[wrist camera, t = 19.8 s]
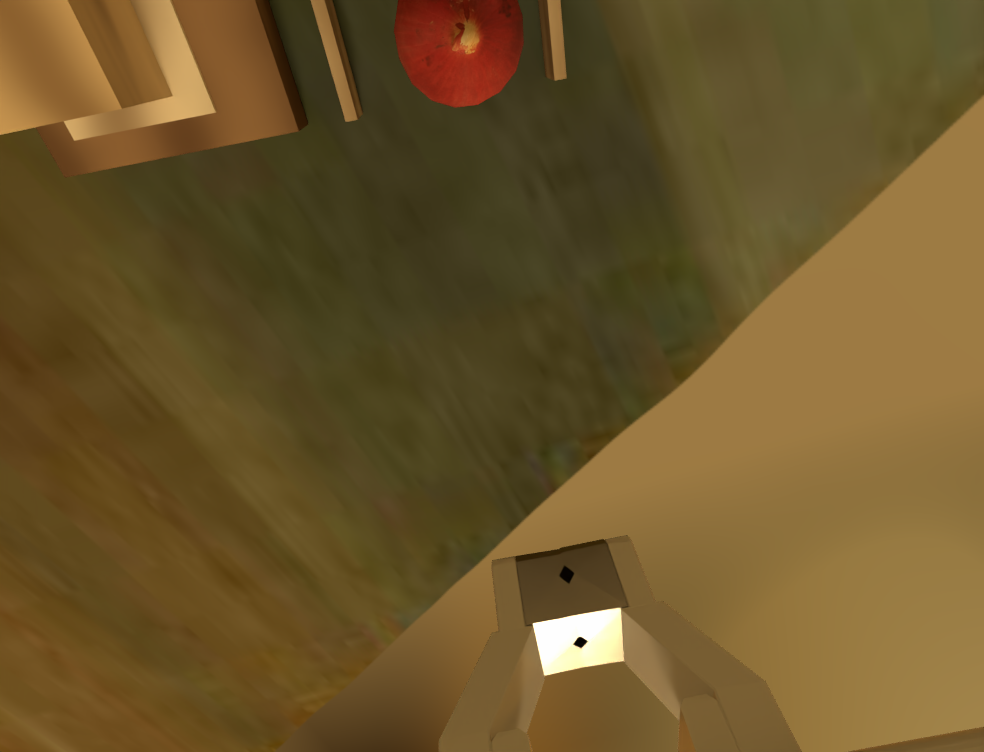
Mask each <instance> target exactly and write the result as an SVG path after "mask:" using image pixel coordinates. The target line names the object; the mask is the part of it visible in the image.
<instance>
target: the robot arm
mask: <svg viewBox="0 0 984 752" xmlns="http://www.w3.org/2000/svg"><path fill="white" fill-rule="evenodd" d="M515 558H516V559H515ZM492 576H493V585H494V594H495V602H496V611H497V620H498V629H499V631H498V632H494V633H492V634H491V636H490V638H489V640H488V642H487V644H486V646H485V648H484V650H483V652H482V654H481V656H480V658H479V660H478V662H477V665H476V666H475V668H474V671H473V673H472V674H471V677H470V679H469V681H468V683H467V685H466V687H465V689H464V691H463V693H462V695H461V697H460V699H459V701H458V703H457V705H456V707H455V709H454V711H453V713H452V716H451V717H450V720H449V721H448V724H447V725H446V728H445V730H444V732H443V734H442V736H441V738H440V740H439V752H533V751H532V747H531V744H530V740H529V736H528V734H527V730H528V727H529V724H530V721H531V718H532V715H533V712H534V709H535V706H536V703H537V700H538V697H539V694H540V691H541V688H542V685H543V682H544V679H545V677H544V675H548V674H552V673H557V672H562V671H567V670H572V669H576V668H581V667H586V666H593V665H599V664H605V663H612V662H618V661H625V664H626V665H627V666H628V667H629V668H630V669H631V670H632V671H633V672H634V673H635V674H636V675H637V676H638V677H639V679H640V680H641V681H642V682H643V683H644V684H645V685H646V686H647V687H648V688H649V689H650V690H651V691H652V692H653V693H654V694H655V695H656V697H657V698H658V699H659V700H660V701H661V702H662V703H663V704H664V705H665V706H666V707H667V708H668V709H669V710H670V711H671V713H672V714H673V715H674V716H675V717H676V718H677V719H678V720H679V737H678V738H679V739H678V752H802V751H801V749H800V747H799V745H798V744H797V742H796V740H795V738H794V736H793V734H792V732H791V730H790V728H789V726H788V724H787V723H786V720H785V718H784V717H783V715H782V712H781V711H780V709H779V707H778V705H777V703H776V701H775V699H774V697H773V695H772V693H771V691H770V689H769V687H768V685H767V683H766V682H765V681H764V680H763V679H762V678H761V677H759V676H758V675H756V674H755V673H754V672H753V671H752V670H750V669H749V668H748V667H747V666H745V665H744V664H743V663H741V662H740V661H739V660H738V659H736V658H735V657H734V656H733V655H731V654H730V653H729V652H727V651H726V650H725V649H724V648H722V647H721V646H720V645H718V644H717V643H716V642H715V641H713V640H712V639H711V638H710V637H708V636H707V635H706V634H704V633H703V632H702V631H701V630H699V629H698V628H697V627H695V626H694V625H693V624H692V623H691V622H689V621H688V620H687V619H685V618H684V617H683V616H682V615H680V614H679V613H678V612H677V611H675V610H674V609H673V608H671V607H670V606H669V605H668V604H666V603H665V602H664V601H660V602H656V601H655V598H654V596H653V593H652V591H651V588H650V586H649V583H648V581H647V578H646V576H645V573H644V571H643V568H642V565H641V563H640V561H639V558H638V555H637V553H636V550H635V548H634V545H633V543H632V540H631V539H630V537H628V536H627V535H626V536H620V537H615V538H610V539H605V540H604V539H602V540H597V541H592V542H587V543H582V544H577V545H572V546H568V547H562V548H560V549H557V550H551V551H545V552H538V553H533V554H526V555H520V556H513V557H508V558H503V559H497V560H492ZM848 752H984V727H980V728H974V729H969V730H963V731H958V732H953V733H947V734H942V735H936V736H931V737H925V738H919V739H914V740H909V741H903V742H898V743H892V744H887V745H881V746H876V747H870V748H865V749H859V750H854V751H848Z"/></svg>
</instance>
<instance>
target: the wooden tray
mask: <svg viewBox="0 0 984 752" xmlns="http://www.w3.org/2000/svg"><path fill="white" fill-rule="evenodd" d="M130 2H131V4H132V6H133V8H134V11H135V13H136V15H137V17H138V20H139V22H140V24H141V26H142V28H143V31H144V33H145V35H146V37H147V40H148V42H149V44H150V46H151V48H152V51H153V53H154V55H155V57H156V60H157V62H158V64H159V66H160V68H161V71H162V73H163V75H164V77H165V80H166V82H167V84H168V86H169V88H170V91H171V93H172V95H173V96H172V97H168V98H164V99H160V100H156V101H152V102H148V103H144V104H140V105H136V106H131V107H127V108H123V109H119V110H114V111H109V112H105V113H100V114H95V115H91V116H86V117H81V118H77V119H72V120H67V121H62V122H58V123H53V124H48V125H44V126H39V127H36V129H37V130H38V132H39V134H40V136H41V137H42V139H43V141H44V143H45V144H46V146H47V148H48V149H49V151H50V153H51V155H52V156H53V158H54V160H55V161H56V163H57V165H58V167H59V168H60V170H61V172H62V174H63V175H64V177H70V176H75V175H80V174H85V173H90V172H95V171H100V170H105V169H110V168H116V167H121V166H126V165H131V164H136V163H141V162H146V161H151V160H156V159H161V158H166V157H171V156H176V155H181V154H186V153H191V152H196V151H201V150H206V149H211V148H217V147H222V146H227V145H232V144H237V143H242V142H247V141H252V140H257V139H262V138H267V137H272V136H277V135H282V134H287V133H292V132H297V131H300V130H301V129H302V128H304V127H305V126H306V125H308V121H307V118H306V115H305V112H304V109H303V106H302V103H301V100H300V97H299V94H298V90H297V87H296V84H295V81H294V78H293V75H292V72H291V69H290V66H289V63H288V60H287V57H286V53H285V50H284V47H283V44H282V41H281V38H280V35H279V32H278V29H277V26H276V23H275V20H274V16H273V13H272V10H271V7H270V4H269V1H268V0H130ZM311 3H312V6H313V10H314V13H315V17H316V20H317V24H318V27H319V31H320V34H321V38H322V41H323V44H324V48H325V51H326V55H327V58H328V62H329V65H330V69H331V72H332V76H333V79H334V83H335V86H336V90H337V93H338V96H339V100H340V103H341V107H342V110H343V114H344V117H345V121H346V122H348V121H353V120H358V119H359V117H360V116H361V115H362V114H363V112H362V108H361V104H360V100H359V97H358V93H357V89H356V86H355V82H354V78H353V75H352V71H351V67H350V63H349V60H348V56H347V52H346V49H345V45H344V41H343V38H342V34H341V30H340V26H339V23H338V19H337V15H336V12H335V8H334V4H333V1H332V0H311ZM538 4H539V14H540V24H541V34H542V45H543V55H544V65H545V75H546V77H547V78H549V79H552V80H560V79H565V78H566V65H565V53H564V40H563V28H562V15H561V3H560V0H538Z"/></svg>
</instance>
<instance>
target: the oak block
mask: <svg viewBox="0 0 984 752" xmlns="http://www.w3.org/2000/svg"><path fill="white" fill-rule="evenodd" d="M172 96H173V95H172V93H171V91H170V88H169V86H168V84H167V82H166V80H165V77H164V75H163V73H162V71H161V68H160V66H159V64H158V62H157V60H156V57H155V55H154V53H153V51H152V48H151V46H150V44H149V42H148V40H147V37H146V35H145V33H144V31H143V28H142V26H141V24H140V22H139V20H138V17H137V15H136V13H135V11H134V8H133V6H132V4H131V2H130V0H0V135H1V134H6V133H11V132H15V131H20V130H25V129H30V128H34V127H39V126H44V125H48V124H53V123H58V122H62V121H67V120H72V119H77V118H81V117H86V116H91V115H95V114H100V113H105V112H109V111H114V110H119V109H123V108H127V107H131V106H136V105H140V104H144V103H148V102H152V101H156V100H160V99H164V98H168V97H172Z"/></svg>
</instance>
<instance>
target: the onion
mask: <svg viewBox="0 0 984 752" xmlns="http://www.w3.org/2000/svg"><path fill="white" fill-rule="evenodd" d="M394 33H395V38H396V44H397V49H398V55H399V59H400V61H401V63H402V65H403V67H404V69H405V71H406V73H407V75H408V77H409V78H410V80H411V82H412V84H413V85H414V86H416V87H417V88H418V89H419V90H420V91H421V92H423V93H424V94H425V95H426V96H427V97H428V98H430V99H431V100H432V101H435V102H438V103H442V104H445V105H448V106H452V107H463V106H471V105H478V104H480V103H482V102H483V101H485V100H487V99H488V98H490V97H492V96H493V95H495V94H497V93H499V92H500V91H501V90H502V89H503V87H504V86H505V85H506V83H507V82H508V81H509V79H510V78H511V77H512V75H513V74H514V73H515V72H516V70H517V66H518V62H519V59H520V55H521V51H522V48H523V44H524V40H523V17H522V13H521V10H520V7H519V4H518V1H517V0H398V6H397V13H396V20H395V27H394Z"/></svg>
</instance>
